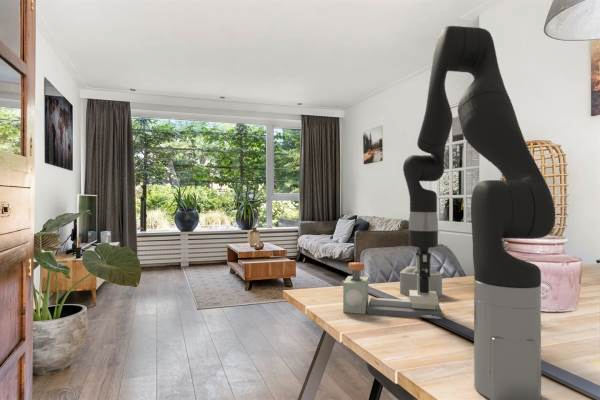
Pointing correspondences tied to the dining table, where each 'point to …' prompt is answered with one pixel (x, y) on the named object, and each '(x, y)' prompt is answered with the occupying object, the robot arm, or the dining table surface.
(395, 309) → the rail board
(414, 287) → the grey lumpy-topped block
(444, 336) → the dining table surface
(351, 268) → the button
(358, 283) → the end cabinet
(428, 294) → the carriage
